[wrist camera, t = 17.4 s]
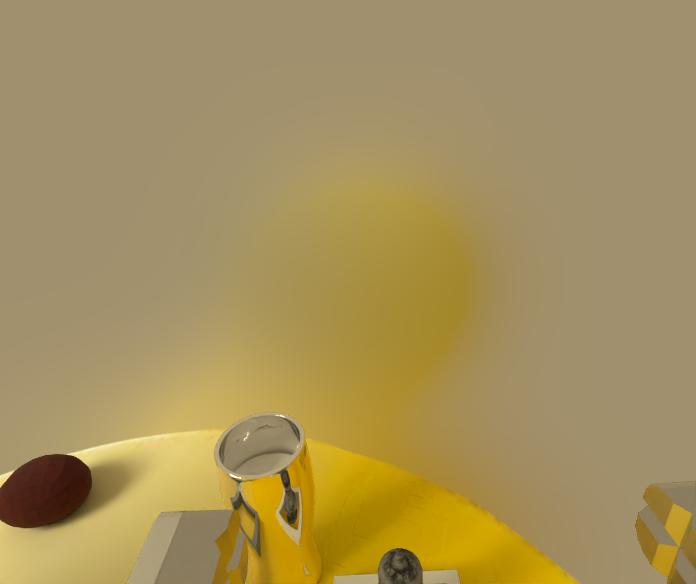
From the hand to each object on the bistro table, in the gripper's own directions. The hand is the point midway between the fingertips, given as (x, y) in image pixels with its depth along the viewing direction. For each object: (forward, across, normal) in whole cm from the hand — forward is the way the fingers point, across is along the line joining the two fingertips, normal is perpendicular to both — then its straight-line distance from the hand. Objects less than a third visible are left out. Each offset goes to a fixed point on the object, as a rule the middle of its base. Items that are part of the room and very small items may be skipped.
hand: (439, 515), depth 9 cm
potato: (+26, +35, +30) cm, 53 cm away
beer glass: (+18, +9, +30) cm, 36 cm away
